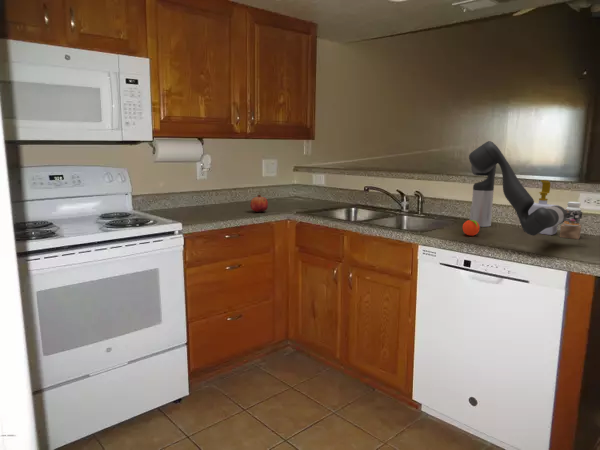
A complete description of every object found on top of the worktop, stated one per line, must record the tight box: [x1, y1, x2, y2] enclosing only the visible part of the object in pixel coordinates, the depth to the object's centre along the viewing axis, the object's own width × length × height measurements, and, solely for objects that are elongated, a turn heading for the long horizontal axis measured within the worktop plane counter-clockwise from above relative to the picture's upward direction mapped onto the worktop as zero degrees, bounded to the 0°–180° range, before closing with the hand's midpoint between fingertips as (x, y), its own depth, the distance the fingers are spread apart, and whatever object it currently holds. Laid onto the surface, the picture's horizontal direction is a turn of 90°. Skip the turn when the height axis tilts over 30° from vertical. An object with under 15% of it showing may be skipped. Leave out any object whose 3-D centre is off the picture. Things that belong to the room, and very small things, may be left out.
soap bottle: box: [528, 180, 560, 236], centre depth 198 cm, size 12×7×23 cm, turn 43°
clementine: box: [462, 219, 481, 237], centre depth 192 cm, size 8×7×7 cm
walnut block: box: [559, 222, 582, 240], centre depth 190 cm, size 7×7×5 cm
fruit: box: [250, 194, 269, 213], centre depth 255 cm, size 11×10×10 cm
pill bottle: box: [563, 201, 582, 226], centre depth 188 cm, size 6×6×10 cm
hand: (565, 211), depth 181 cm, fingers open, 8 cm apart
